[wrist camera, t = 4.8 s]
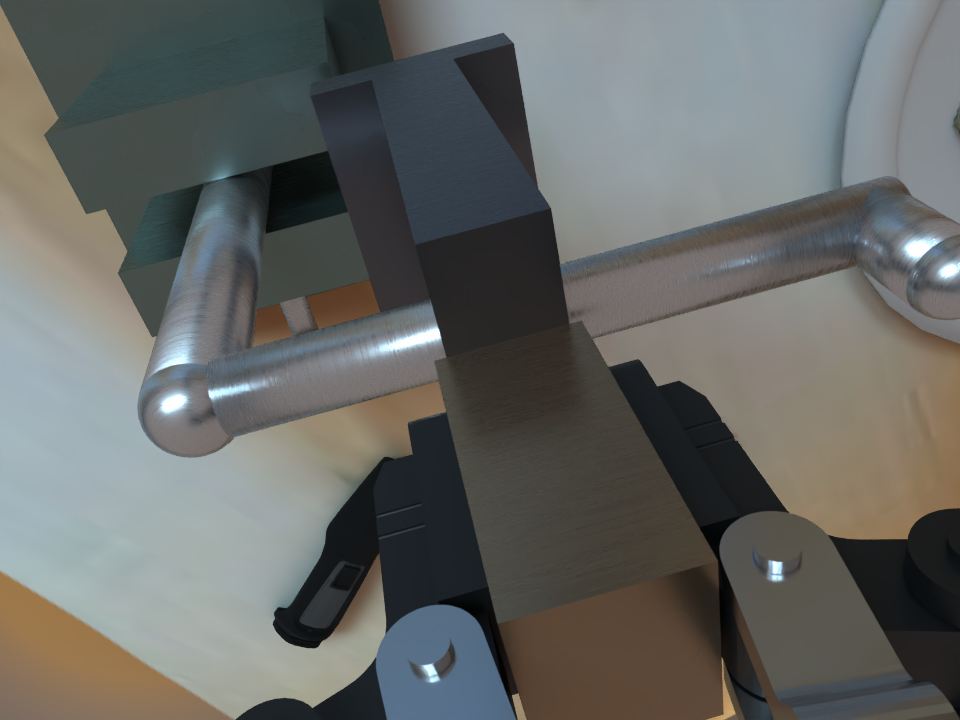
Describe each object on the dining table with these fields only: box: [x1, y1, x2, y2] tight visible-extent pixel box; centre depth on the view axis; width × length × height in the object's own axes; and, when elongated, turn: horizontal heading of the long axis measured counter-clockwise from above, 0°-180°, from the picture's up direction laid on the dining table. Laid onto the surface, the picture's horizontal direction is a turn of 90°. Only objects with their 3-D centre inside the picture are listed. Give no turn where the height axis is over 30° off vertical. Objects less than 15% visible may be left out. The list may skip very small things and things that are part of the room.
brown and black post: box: [310, 33, 723, 720], centre depth 15 cm, size 7×5×15 cm
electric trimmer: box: [273, 457, 395, 648], centre depth 45 cm, size 4×15×3 cm, turn 150°
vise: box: [0, 0, 960, 458], centre depth 23 cm, size 16×21×23 cm
